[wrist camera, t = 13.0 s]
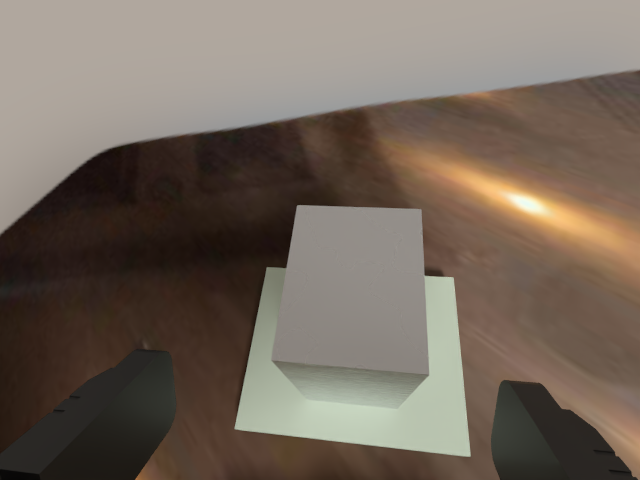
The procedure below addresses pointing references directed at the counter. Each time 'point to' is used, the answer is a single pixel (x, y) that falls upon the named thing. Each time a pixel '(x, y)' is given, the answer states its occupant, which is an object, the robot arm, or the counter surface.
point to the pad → (355, 420)
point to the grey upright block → (354, 306)
